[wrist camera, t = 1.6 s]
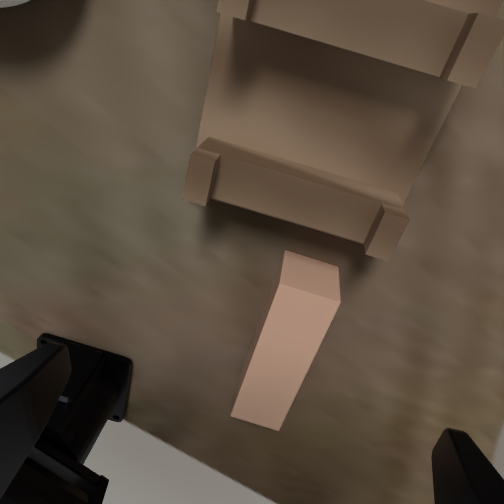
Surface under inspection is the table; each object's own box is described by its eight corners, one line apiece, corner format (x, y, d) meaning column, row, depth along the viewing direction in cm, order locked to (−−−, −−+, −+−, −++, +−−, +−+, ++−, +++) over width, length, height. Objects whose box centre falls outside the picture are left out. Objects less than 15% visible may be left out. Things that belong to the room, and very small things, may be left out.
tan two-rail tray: (379, 242, 21) (389, 283, 18) (192, 186, 21) (167, 217, 18) (497, -4, 15) (545, -11, 12) (242, -79, 15) (220, -108, 12)
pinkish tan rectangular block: (283, 385, 27) (278, 431, 24) (240, 372, 27) (230, 416, 24) (337, 264, 22) (340, 302, 19) (285, 248, 22) (279, 283, 19)
